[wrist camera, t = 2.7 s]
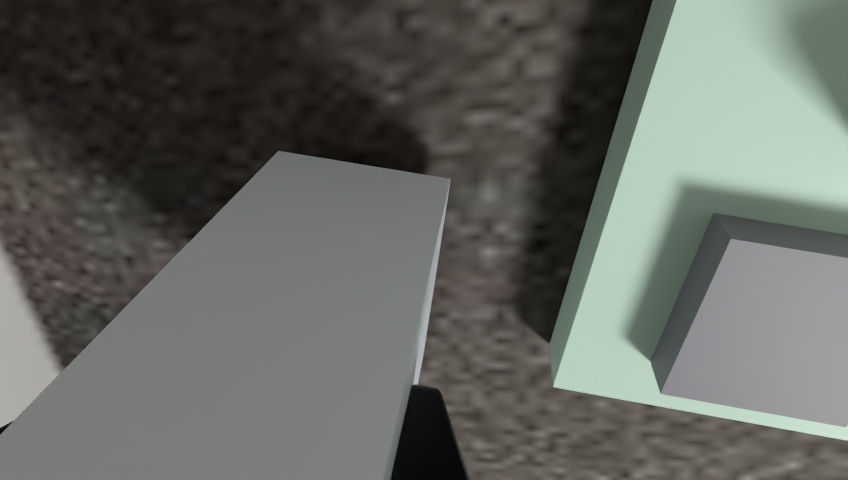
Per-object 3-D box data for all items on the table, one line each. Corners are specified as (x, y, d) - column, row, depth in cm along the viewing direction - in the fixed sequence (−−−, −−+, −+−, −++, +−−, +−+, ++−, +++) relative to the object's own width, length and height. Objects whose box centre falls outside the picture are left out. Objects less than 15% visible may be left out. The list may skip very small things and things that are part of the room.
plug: (423, 356, 12) (271, 1121, 4) (280, 331, 12) (-102, 1025, 4) (450, 179, 10) (255, 1041, 2) (278, 151, 10) (-432, 873, 2)
